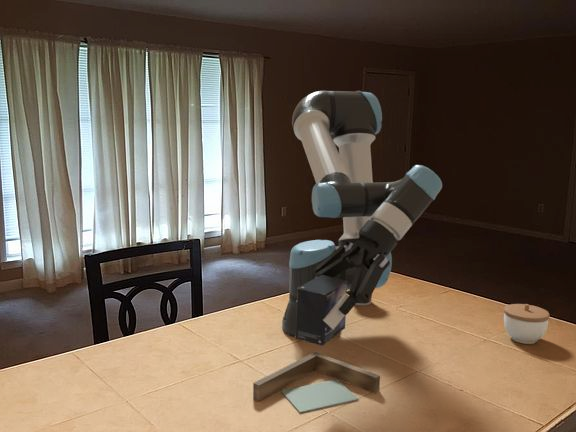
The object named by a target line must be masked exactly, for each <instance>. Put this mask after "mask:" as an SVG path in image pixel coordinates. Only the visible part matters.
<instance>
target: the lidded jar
mask: <svg viewBox="0 0 576 432" xmlns="http://www.w3.org/2000/svg"><path fill="white" fill-rule="evenodd" d="M549 320H550V313H549V311H548V310H546V309H544V308H543V307H542V308H541V307H539V306H537V305H536V306H535V305H531V304H528V303H511V304H507V305H505V307H504V308H503V324H504V329H505V332H507V335H509V336H510V338H511V340H512V341H514V342H516V343H521V344H525V345H533V344H535V343H537V342H538V341H539V340H541V339H542V338H543V337H544V335H545V334H546V332H547V329H548V325H549Z"/></svg>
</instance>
